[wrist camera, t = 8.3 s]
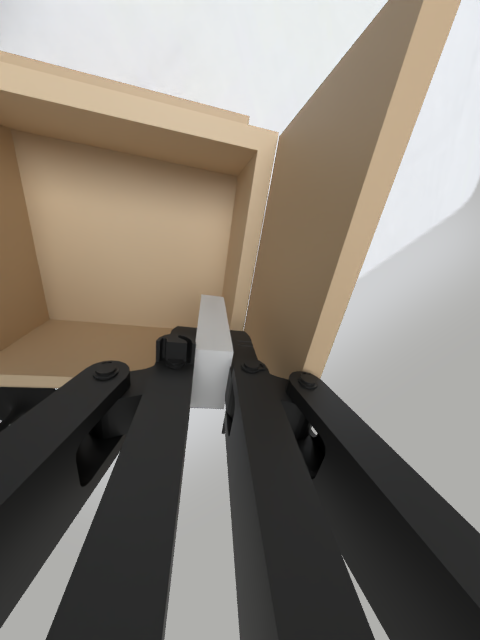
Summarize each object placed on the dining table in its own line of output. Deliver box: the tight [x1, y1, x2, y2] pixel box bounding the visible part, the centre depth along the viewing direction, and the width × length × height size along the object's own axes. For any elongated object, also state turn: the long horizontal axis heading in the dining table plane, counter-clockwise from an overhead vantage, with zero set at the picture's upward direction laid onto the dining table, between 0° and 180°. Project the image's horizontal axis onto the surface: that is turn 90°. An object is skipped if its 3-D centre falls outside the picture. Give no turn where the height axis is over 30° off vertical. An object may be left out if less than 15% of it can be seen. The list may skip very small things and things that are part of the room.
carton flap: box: [244, 0, 461, 379], centre depth 14 cm, size 12×22×1 cm
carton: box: [0, 51, 279, 388], centre depth 22 cm, size 25×23×12 cm
